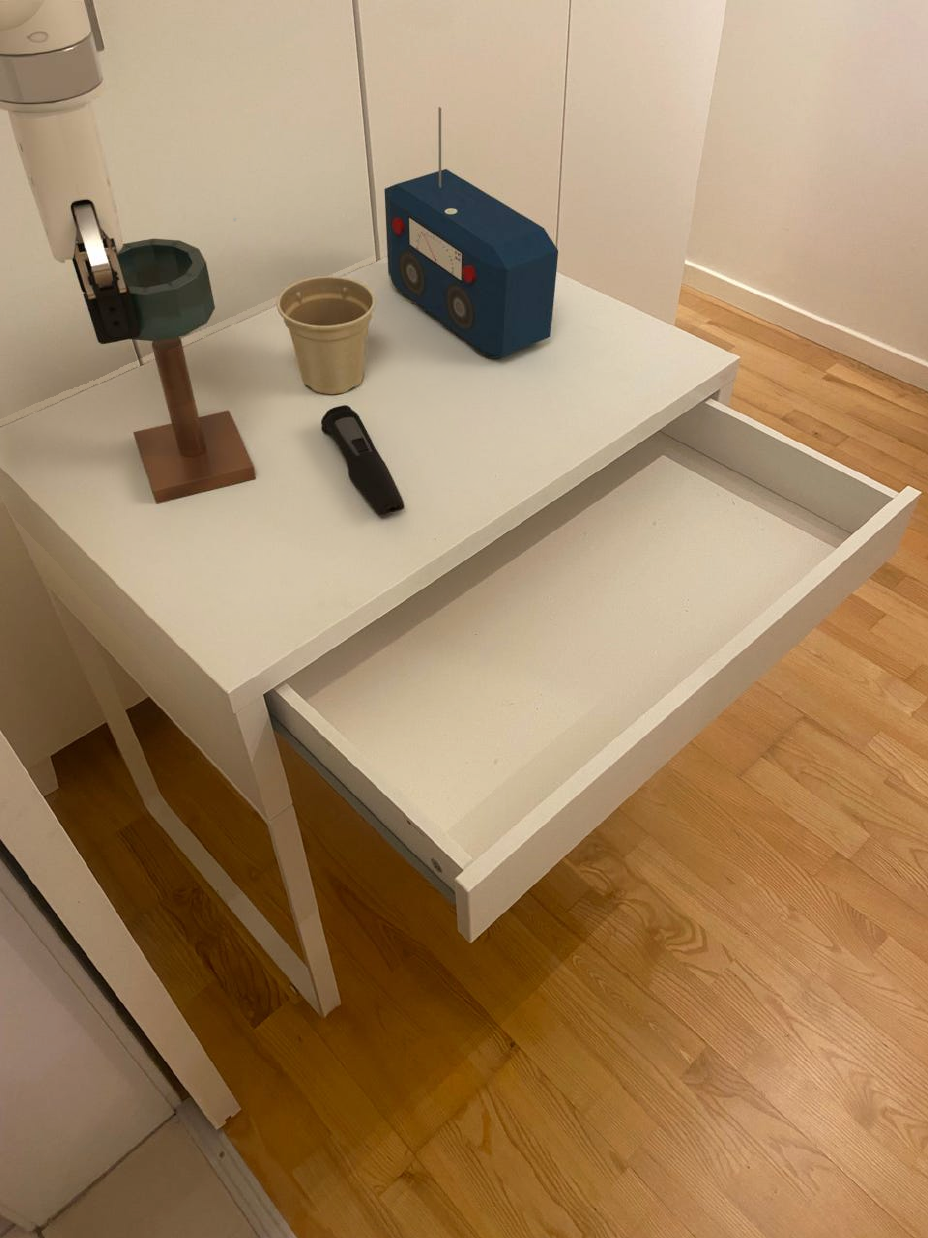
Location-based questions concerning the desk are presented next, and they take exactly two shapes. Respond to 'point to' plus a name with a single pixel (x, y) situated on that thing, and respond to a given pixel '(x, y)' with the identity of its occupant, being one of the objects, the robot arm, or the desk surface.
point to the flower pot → (328, 330)
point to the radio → (471, 261)
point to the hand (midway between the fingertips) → (110, 311)
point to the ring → (166, 287)
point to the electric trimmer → (362, 460)
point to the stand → (189, 437)
